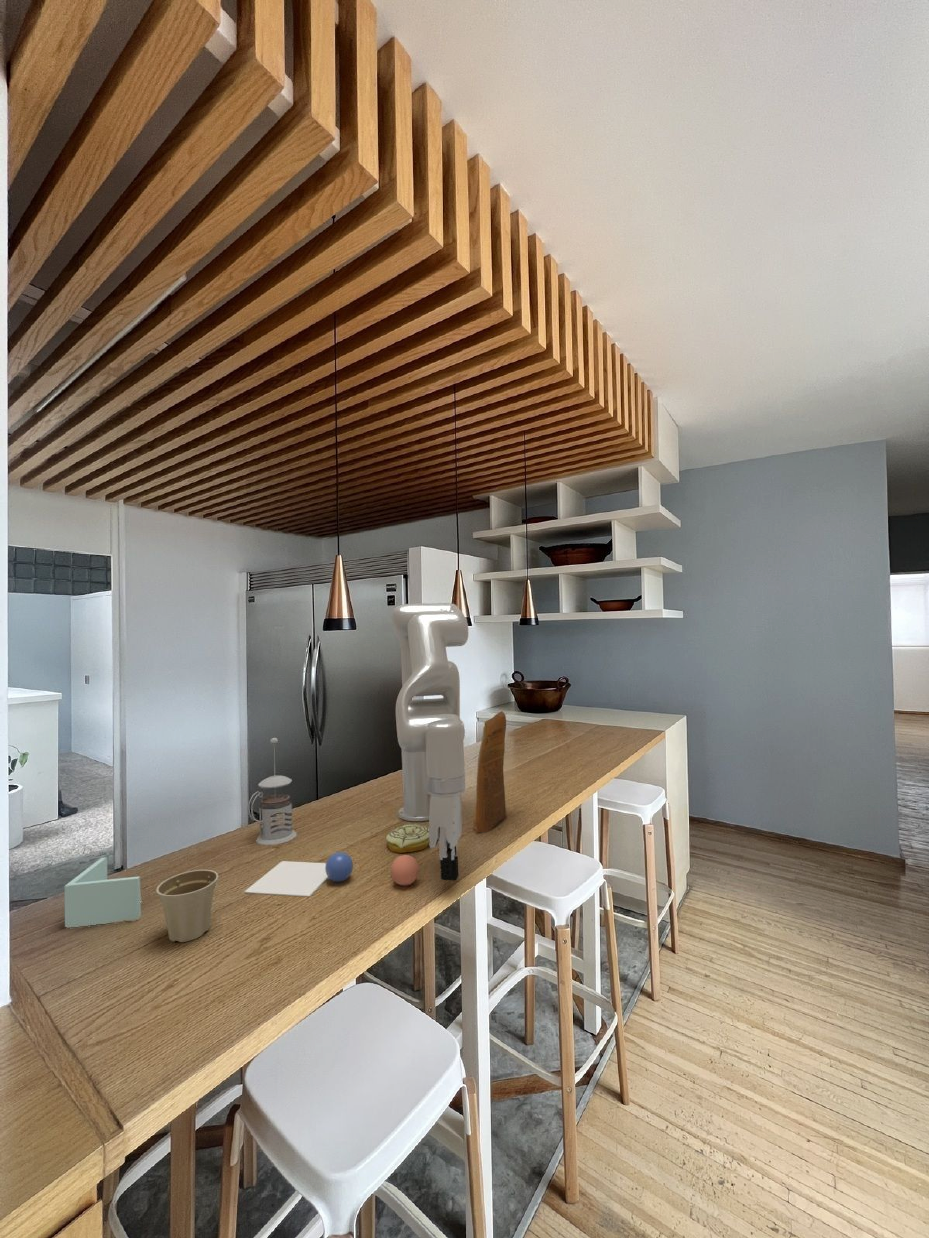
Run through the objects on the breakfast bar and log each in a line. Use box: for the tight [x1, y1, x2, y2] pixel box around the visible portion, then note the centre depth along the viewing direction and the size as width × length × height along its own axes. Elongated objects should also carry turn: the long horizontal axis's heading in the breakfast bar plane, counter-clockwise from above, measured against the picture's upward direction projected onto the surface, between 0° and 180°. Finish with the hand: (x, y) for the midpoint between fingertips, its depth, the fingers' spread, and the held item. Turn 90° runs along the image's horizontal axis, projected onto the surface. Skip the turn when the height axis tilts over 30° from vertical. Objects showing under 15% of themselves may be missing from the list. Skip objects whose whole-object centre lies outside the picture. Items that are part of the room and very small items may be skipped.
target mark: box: [243, 860, 329, 898], centre depth 108 cm, size 14×14×1 cm
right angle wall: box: [64, 857, 143, 928], centre depth 99 cm, size 12×12×8 cm
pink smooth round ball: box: [390, 854, 420, 886], centre depth 104 cm, size 6×6×6 cm
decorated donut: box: [385, 823, 429, 854], centre depth 123 cm, size 10×11×4 cm
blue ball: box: [325, 851, 354, 883], centre depth 106 cm, size 6×6×6 cm
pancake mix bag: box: [473, 710, 507, 834], centre depth 136 cm, size 7×19×28 cm, turn 153°
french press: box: [247, 737, 298, 846], centre depth 131 cm, size 10×12×25 cm
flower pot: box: [155, 869, 219, 943], centre depth 89 cm, size 9×9×9 cm
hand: (449, 878), depth 102 cm, fingers closed
